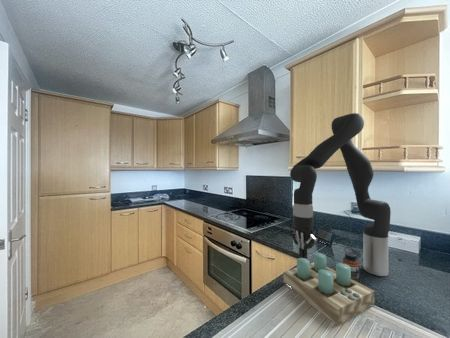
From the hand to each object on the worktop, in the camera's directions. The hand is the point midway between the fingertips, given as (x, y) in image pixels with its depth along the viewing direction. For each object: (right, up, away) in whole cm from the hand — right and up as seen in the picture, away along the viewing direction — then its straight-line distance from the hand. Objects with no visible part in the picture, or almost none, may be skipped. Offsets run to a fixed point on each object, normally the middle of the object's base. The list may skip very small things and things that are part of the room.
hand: (303, 256), depth 78 cm
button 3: (+5, -8, -9) cm, 13 cm away
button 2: (+9, -7, +5) cm, 13 cm away
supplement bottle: (+23, -13, +6) cm, 27 cm away
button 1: (0, -8, 0) cm, 8 cm away
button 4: (+14, -7, -5) cm, 16 cm away
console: (+7, -13, -3) cm, 15 cm away
